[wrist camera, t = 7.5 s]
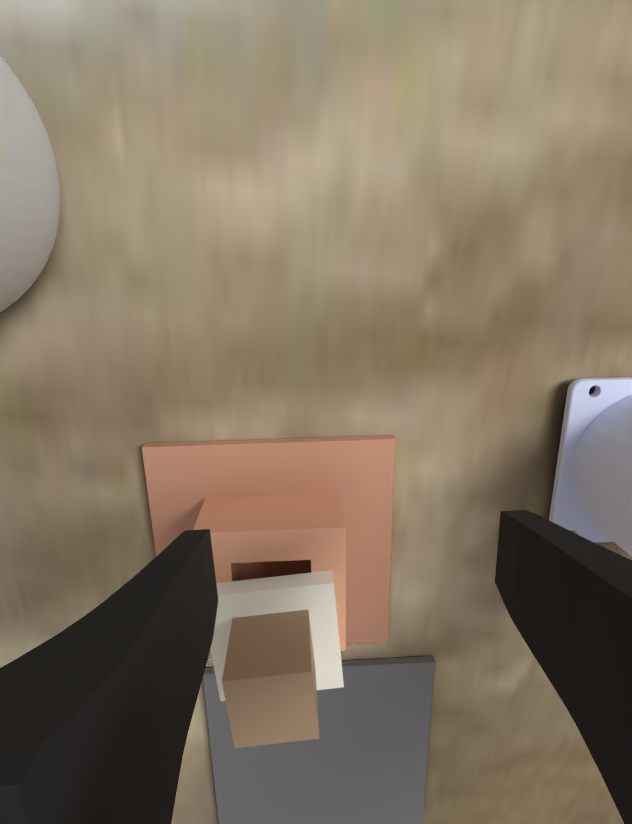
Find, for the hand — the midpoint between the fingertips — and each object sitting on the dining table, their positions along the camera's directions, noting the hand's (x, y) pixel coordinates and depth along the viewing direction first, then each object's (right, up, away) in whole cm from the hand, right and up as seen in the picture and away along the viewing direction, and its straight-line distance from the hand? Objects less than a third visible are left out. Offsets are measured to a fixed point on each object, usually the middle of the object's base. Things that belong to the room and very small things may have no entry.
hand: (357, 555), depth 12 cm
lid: (-3, -6, +8) cm, 10 cm away
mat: (-1, -15, +15) cm, 21 cm away
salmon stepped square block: (-3, -3, +11) cm, 12 cm away
